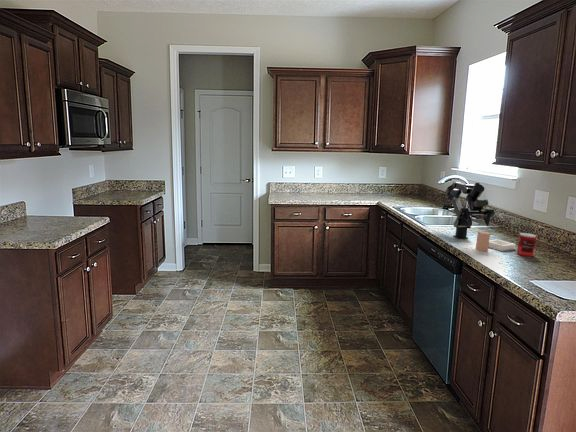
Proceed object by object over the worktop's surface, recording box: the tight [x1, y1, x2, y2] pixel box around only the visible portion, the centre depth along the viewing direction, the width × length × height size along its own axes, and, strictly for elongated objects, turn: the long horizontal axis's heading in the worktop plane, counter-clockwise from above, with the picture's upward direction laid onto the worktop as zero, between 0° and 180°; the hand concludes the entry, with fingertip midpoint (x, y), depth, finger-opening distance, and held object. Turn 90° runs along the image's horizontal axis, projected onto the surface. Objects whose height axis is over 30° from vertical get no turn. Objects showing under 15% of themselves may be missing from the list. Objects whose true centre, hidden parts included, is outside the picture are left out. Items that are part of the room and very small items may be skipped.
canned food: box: [516, 232, 537, 258], centre depth 221 cm, size 8×8×11 cm
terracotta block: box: [475, 231, 491, 252], centre depth 227 cm, size 4×4×10 cm
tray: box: [488, 239, 517, 252], centre depth 234 cm, size 11×11×3 cm
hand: (479, 225), depth 231 cm, fingers open, 9 cm apart
